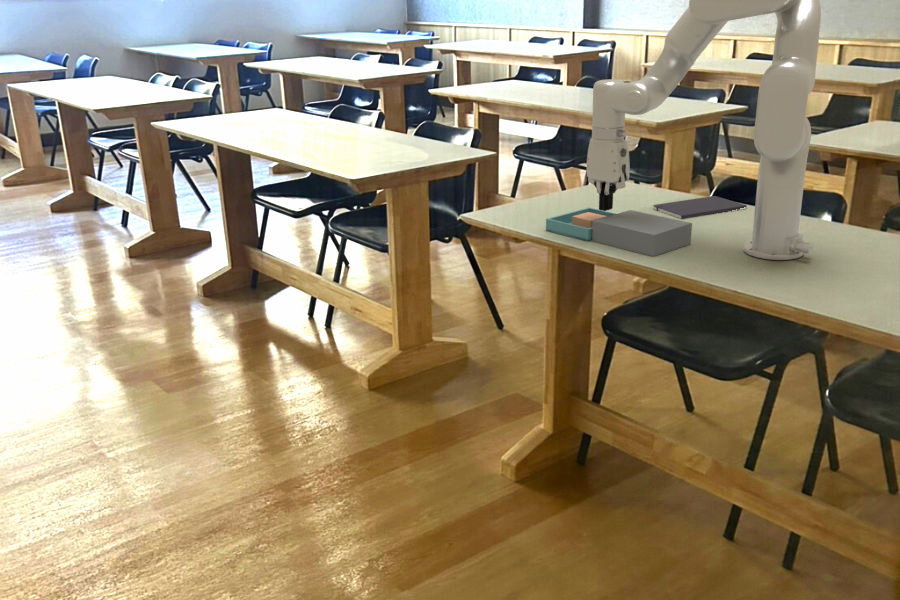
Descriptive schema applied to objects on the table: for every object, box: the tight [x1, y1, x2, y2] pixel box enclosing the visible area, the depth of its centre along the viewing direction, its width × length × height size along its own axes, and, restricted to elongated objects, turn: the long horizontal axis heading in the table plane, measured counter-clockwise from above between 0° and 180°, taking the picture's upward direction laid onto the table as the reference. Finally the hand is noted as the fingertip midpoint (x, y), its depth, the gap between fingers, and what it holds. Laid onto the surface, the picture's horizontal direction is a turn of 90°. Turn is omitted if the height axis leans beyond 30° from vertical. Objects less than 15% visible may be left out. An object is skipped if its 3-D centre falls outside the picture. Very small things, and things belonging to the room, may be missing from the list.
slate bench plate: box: [591, 209, 693, 257], centre depth 204 cm, size 18×14×5 cm
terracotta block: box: [572, 212, 607, 228], centre depth 216 cm, size 6×6×3 cm
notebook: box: [652, 195, 747, 220], centre depth 232 cm, size 13×2×21 cm
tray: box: [545, 207, 617, 242], centre depth 216 cm, size 14×16×3 cm
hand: (605, 209), depth 211 cm, fingers closed
